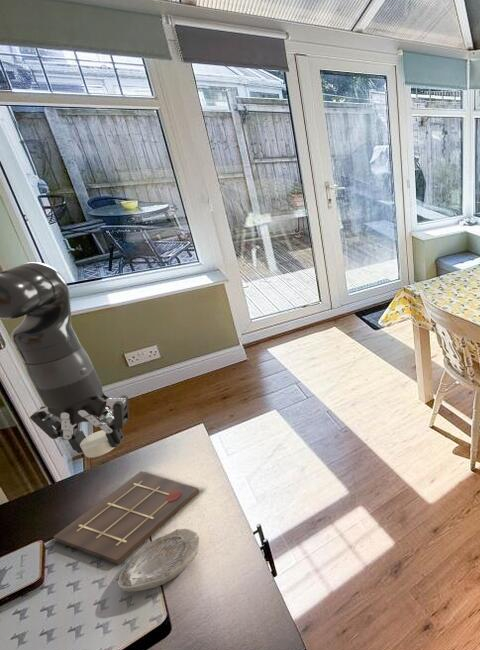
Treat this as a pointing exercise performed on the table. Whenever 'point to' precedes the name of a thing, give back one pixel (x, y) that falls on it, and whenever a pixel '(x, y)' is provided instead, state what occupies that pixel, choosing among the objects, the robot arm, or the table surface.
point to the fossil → (159, 560)
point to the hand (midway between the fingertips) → (100, 446)
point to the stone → (95, 444)
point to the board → (127, 517)
